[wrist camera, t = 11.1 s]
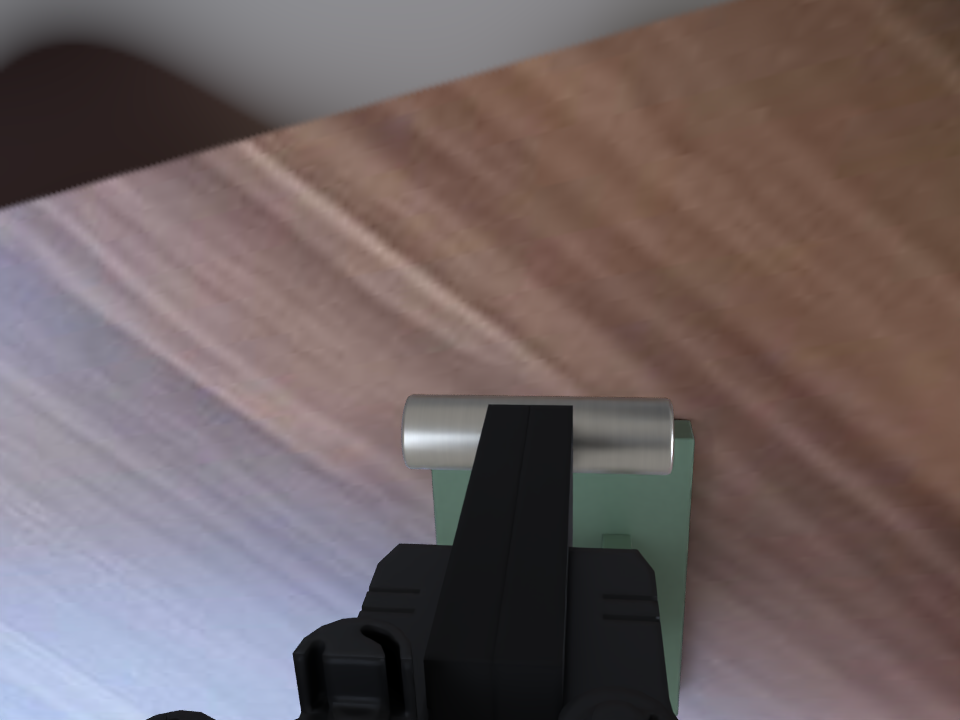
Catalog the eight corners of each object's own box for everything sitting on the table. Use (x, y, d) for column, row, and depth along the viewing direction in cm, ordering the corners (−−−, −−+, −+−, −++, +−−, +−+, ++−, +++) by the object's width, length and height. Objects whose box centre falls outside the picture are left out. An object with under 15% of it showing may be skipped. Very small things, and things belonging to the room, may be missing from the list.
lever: (416, 369, 17) (392, 432, 15) (667, 372, 17) (679, 437, 15) (458, 823, 24) (445, 911, 22) (642, 837, 23) (646, 929, 21)
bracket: (435, 414, 31) (328, 695, 18) (690, 419, 30) (762, 721, 17) (452, 676, 36) (376, 1046, 23) (674, 688, 35) (723, 1085, 22)
